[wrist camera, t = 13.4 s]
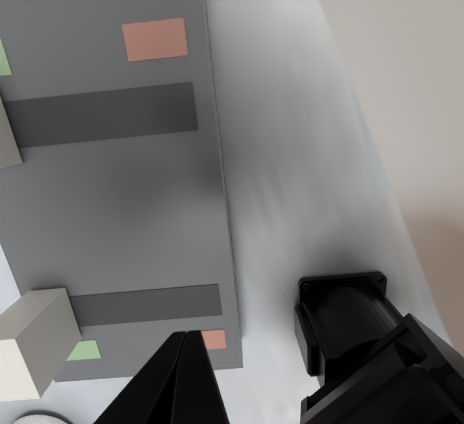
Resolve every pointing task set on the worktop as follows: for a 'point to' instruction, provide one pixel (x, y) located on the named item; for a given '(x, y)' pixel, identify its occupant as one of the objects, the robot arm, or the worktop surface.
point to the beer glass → (39, 420)
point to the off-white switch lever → (7, 142)
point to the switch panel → (118, 177)
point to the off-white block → (35, 342)
